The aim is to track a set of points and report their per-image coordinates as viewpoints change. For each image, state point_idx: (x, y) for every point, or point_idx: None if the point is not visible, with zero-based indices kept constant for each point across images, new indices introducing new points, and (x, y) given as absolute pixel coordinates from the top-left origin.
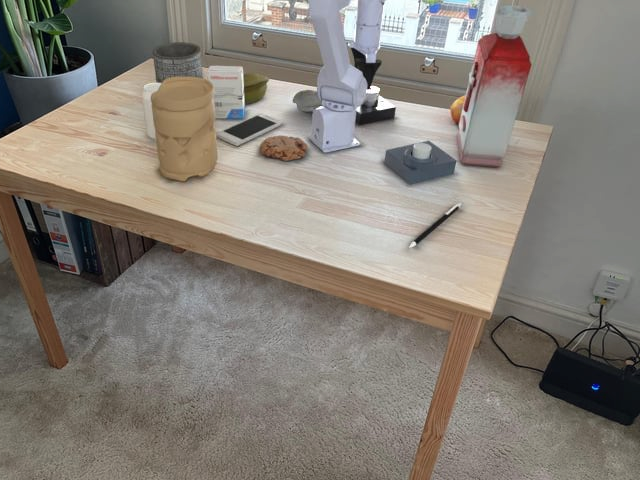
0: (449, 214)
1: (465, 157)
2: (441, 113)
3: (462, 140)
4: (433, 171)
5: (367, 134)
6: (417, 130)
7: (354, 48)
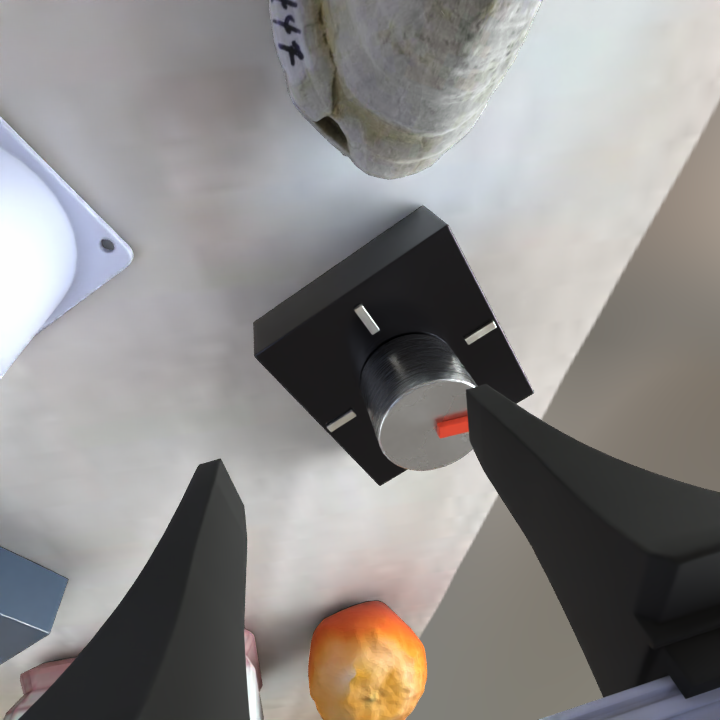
0: None
1: (24, 694)
2: (431, 560)
3: None
4: None
5: (158, 371)
6: (270, 527)
7: (658, 591)
